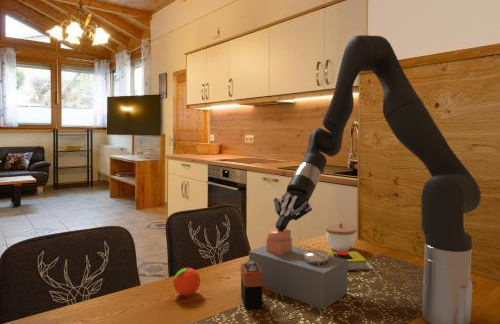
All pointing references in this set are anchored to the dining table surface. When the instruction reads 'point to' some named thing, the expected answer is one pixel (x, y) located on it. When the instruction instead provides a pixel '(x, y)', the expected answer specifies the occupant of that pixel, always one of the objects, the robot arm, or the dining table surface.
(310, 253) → the silver jar
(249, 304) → the battery
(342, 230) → the lidded jar
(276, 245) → the orange canister
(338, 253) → the emergency button
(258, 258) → the console
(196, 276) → the clementine
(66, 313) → the dining table surface
